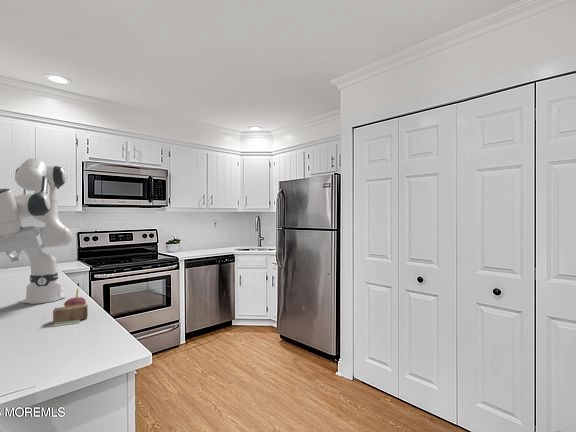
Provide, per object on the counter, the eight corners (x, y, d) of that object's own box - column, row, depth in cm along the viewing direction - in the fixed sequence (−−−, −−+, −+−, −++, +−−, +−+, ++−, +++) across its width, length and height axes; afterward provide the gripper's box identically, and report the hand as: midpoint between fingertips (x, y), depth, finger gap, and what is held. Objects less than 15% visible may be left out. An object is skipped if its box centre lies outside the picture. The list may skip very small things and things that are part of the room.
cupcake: (90, 311, 153) (90, 285, 153) (71, 316, 146) (71, 289, 146) (78, 309, 157) (78, 284, 157) (60, 314, 149) (59, 288, 149)
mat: (58, 317, 145) (58, 316, 145) (82, 314, 149) (82, 313, 149) (53, 326, 133) (53, 325, 133) (79, 323, 137) (79, 322, 137)
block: (54, 307, 141) (87, 304, 146) (55, 319, 141) (87, 315, 146) (52, 310, 136) (86, 306, 142) (53, 322, 136) (86, 318, 142)
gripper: (40, 223, 140) (48, 254, 142) (-16, 230, 135) (-8, 262, 138) (33, 226, 134) (41, 258, 136) (-26, 233, 129) (-17, 267, 132)
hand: (16, 260), depth 137 cm, fingers closed
